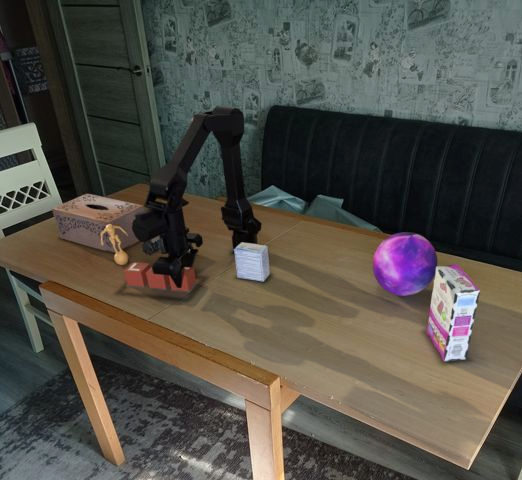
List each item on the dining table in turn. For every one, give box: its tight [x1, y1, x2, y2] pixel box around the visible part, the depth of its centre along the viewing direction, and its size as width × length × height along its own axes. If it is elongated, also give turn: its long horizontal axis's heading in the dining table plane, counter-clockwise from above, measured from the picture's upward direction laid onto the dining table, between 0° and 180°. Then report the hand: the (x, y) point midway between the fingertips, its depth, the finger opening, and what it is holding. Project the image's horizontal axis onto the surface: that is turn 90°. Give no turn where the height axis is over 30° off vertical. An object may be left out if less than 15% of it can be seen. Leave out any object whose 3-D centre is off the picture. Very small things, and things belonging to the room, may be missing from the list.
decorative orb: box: [372, 231, 439, 297], centre depth 128 cm, size 15×15×15 cm
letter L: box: [123, 261, 151, 287], centre depth 143 cm, size 5×5×5 cm
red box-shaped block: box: [146, 266, 170, 289], centre depth 141 cm, size 5×5×5 cm
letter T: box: [169, 266, 197, 291], centre depth 140 cm, size 5×5×5 cm
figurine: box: [101, 224, 130, 266], centre depth 152 cm, size 8×6×12 cm
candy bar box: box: [426, 264, 481, 362], centre depth 108 cm, size 11×5×16 cm, turn 5°
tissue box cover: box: [51, 193, 145, 254], centre depth 169 cm, size 26×14×10 cm, turn 56°
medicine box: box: [233, 242, 271, 283], centre depth 141 cm, size 8×4×9 cm, turn 65°
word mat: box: [125, 280, 199, 294], centre depth 143 cm, size 20×12×1 cm, turn 73°
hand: (183, 282), depth 140 cm, fingers closed on letter T, 5 cm apart
